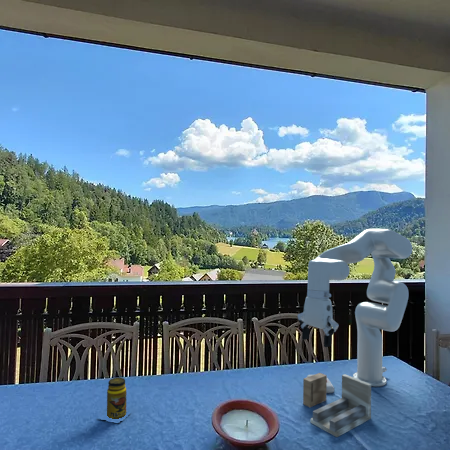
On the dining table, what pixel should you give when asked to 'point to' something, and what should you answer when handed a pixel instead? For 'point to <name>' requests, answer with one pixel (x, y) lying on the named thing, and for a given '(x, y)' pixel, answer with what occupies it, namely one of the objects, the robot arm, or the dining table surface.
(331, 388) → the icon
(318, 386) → the door
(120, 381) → the condiment
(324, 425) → the track
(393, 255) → the robot arm
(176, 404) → the dining table surface
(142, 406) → the dining table surface
